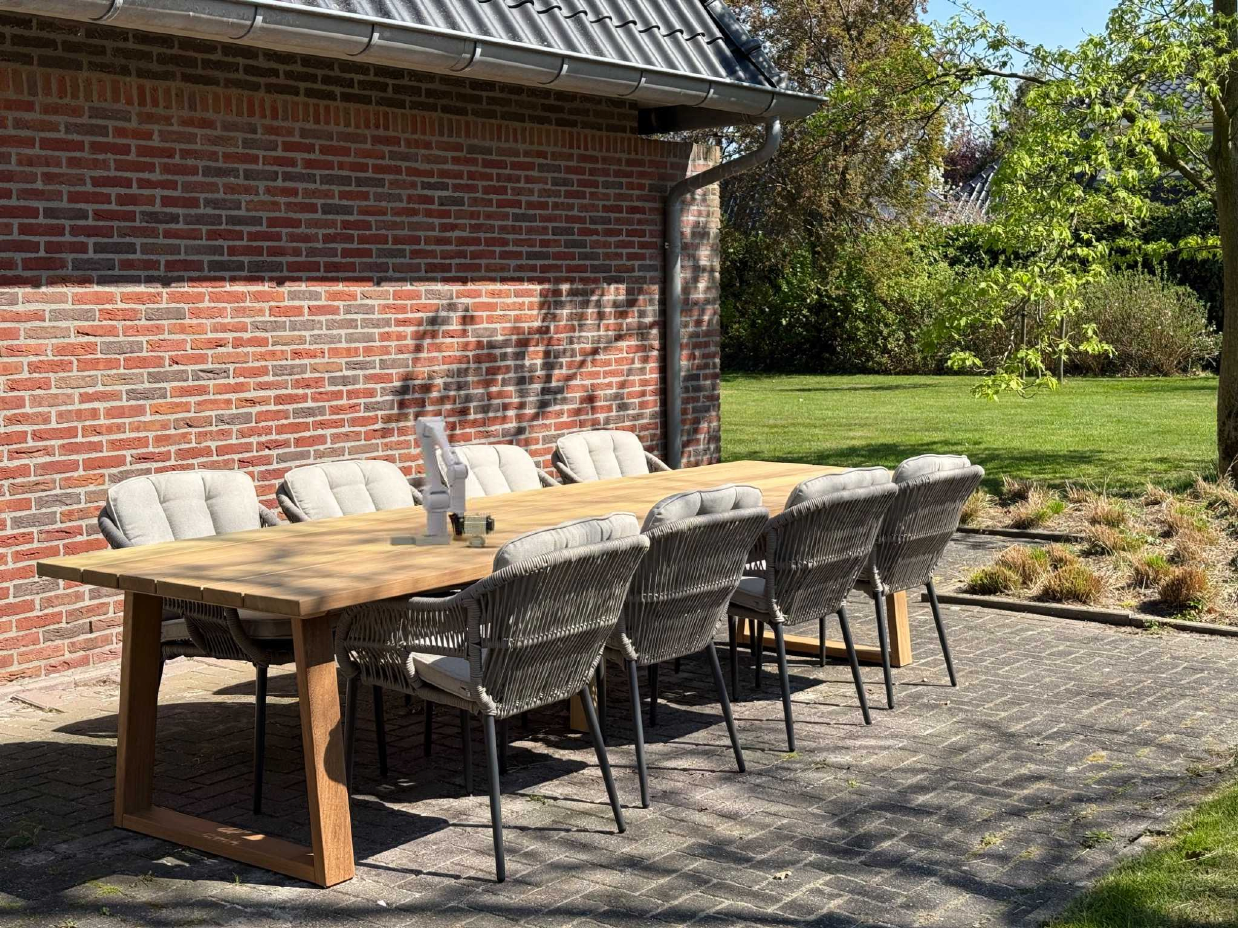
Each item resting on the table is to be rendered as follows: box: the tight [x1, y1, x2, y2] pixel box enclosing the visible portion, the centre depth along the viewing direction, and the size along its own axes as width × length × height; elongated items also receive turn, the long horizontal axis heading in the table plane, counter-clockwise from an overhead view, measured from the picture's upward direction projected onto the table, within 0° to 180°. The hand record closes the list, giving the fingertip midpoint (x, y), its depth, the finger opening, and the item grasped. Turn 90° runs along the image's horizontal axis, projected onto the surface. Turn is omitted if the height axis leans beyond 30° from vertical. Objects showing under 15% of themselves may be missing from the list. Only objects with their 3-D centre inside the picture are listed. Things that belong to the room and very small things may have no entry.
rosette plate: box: [389, 533, 451, 547], centre depth 532 cm, size 12×20×2 cm, turn 107°
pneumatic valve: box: [459, 512, 496, 548], centre depth 522 cm, size 6×12×12 cm, turn 82°
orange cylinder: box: [453, 526, 463, 541], centre depth 540 cm, size 3×3×7 cm
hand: (457, 534), depth 540 cm, fingers open, 4 cm apart
